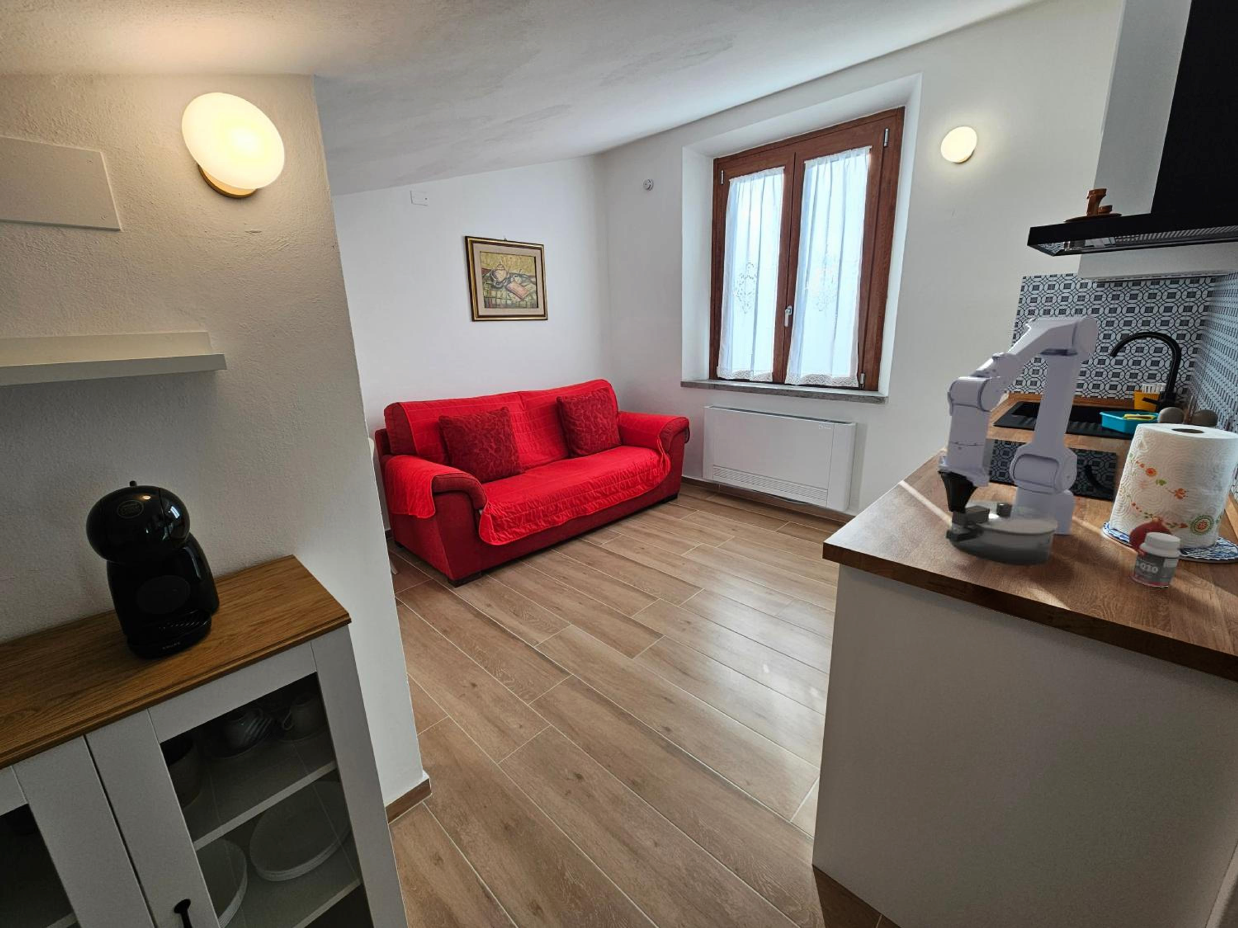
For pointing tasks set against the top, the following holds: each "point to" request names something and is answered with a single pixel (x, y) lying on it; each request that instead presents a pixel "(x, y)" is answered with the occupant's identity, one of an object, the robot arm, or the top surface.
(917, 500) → the top surface
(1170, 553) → the pill bottle
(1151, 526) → the onion
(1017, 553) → the cooker pot
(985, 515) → the cooker lid
